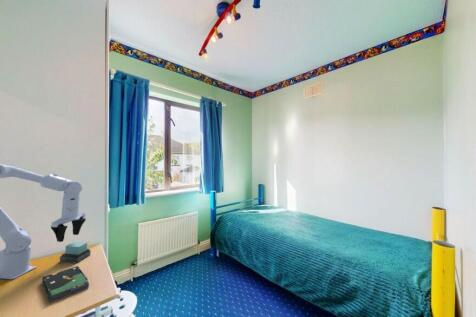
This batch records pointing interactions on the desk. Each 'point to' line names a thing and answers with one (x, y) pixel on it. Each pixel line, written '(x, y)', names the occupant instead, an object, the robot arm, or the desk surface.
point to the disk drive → (64, 283)
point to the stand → (75, 256)
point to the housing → (76, 248)
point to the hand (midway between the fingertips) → (68, 237)
